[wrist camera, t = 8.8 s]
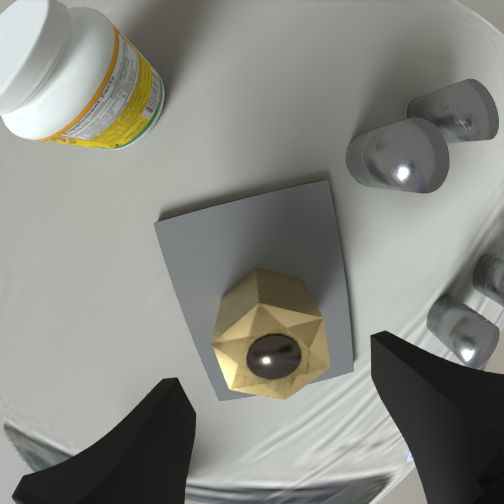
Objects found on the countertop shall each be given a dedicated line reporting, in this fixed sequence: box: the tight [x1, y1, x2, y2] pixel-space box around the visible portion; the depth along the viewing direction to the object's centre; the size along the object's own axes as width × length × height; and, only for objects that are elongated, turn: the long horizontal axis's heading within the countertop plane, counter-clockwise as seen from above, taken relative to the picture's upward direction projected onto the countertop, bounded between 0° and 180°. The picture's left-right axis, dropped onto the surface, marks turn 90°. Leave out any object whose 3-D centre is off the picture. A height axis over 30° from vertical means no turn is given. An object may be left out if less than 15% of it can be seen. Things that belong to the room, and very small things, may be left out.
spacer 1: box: [346, 117, 449, 193], centre depth 11 cm, size 3×3×5 cm
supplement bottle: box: [0, 0, 165, 150], centre depth 8 cm, size 5×5×10 cm
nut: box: [211, 267, 330, 399], centre depth 13 cm, size 5×4×4 cm
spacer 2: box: [407, 79, 499, 143], centre depth 10 cm, size 3×3×5 cm
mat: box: [154, 180, 354, 401], centre depth 15 cm, size 12×9×1 cm
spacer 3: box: [427, 295, 500, 369], centre depth 14 cm, size 3×3×5 cm
